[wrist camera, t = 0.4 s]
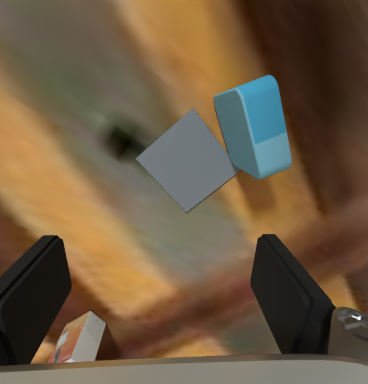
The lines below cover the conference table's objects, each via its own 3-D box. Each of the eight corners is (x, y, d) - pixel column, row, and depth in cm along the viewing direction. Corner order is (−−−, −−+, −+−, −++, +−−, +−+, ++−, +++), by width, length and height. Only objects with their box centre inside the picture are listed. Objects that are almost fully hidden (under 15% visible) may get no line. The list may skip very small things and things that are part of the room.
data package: (254, 155, 39) (294, 170, 28) (231, 164, 39) (262, 183, 28) (237, 86, 35) (276, 71, 24) (211, 96, 35) (238, 86, 24)
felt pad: (192, 108, 36) (192, 108, 35) (239, 170, 40) (240, 170, 40) (135, 158, 38) (135, 158, 38) (186, 211, 42) (186, 212, 42)
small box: (90, 309, 50) (71, 358, 40) (106, 323, 52) (91, 373, 42) (65, 324, 51) (39, 375, 41) (81, 337, 53) (61, 389, 43)
